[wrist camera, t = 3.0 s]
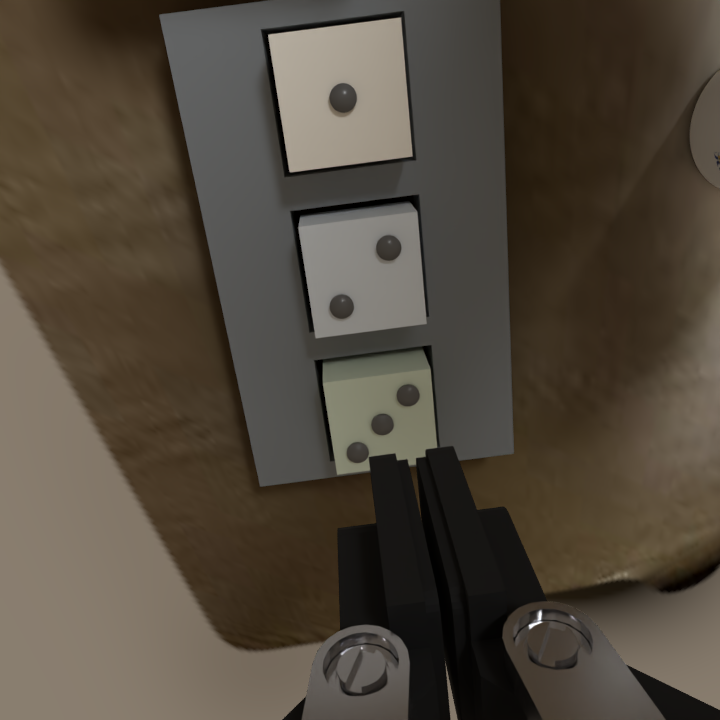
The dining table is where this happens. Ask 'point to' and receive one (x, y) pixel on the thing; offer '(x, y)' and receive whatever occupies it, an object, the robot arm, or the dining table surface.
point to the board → (342, 186)
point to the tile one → (342, 94)
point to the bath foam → (707, 131)
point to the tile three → (379, 407)
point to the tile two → (363, 268)
